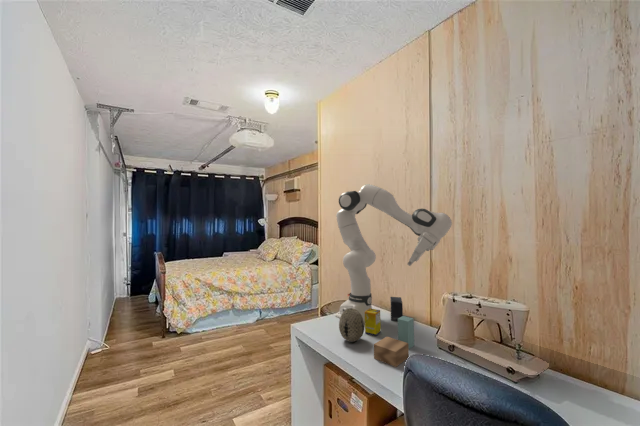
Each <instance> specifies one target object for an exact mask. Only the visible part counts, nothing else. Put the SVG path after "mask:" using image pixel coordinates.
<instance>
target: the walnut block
mask: <svg viewBox="0 0 640 426" xmlns="http://www.w3.org/2000/svg"><path fill="white" fill-rule="evenodd" d="M409 351H410V349H409V347H408V343H406V342H403V341H400V340H398V338H397V339H396V338H394V337H390V336H385V337H384V338H382V339H380V340H378V341H377V342H375V343H373V359H375V360H377V361H379V362H382V363H384V364H388V365H390V366H392V367H395V368H397V367H398V366H400V365H401V364H402V363H403V362H405V361H406V360H407V359H408V357H409V358H410V356H409V354H410V353H409Z"/></svg>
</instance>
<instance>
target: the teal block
mask: <svg viewBox="0 0 640 426" xmlns="http://www.w3.org/2000/svg"><path fill="white" fill-rule="evenodd" d="M414 319H415V318H413V317H410V316H406V315H403V316H402V317H400V318H398V321H397V340H400V341H403V342H406V343H408V347H409V350H410V349H412V348H413V347H414V346H415V327H414V325H415V324H414Z"/></svg>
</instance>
